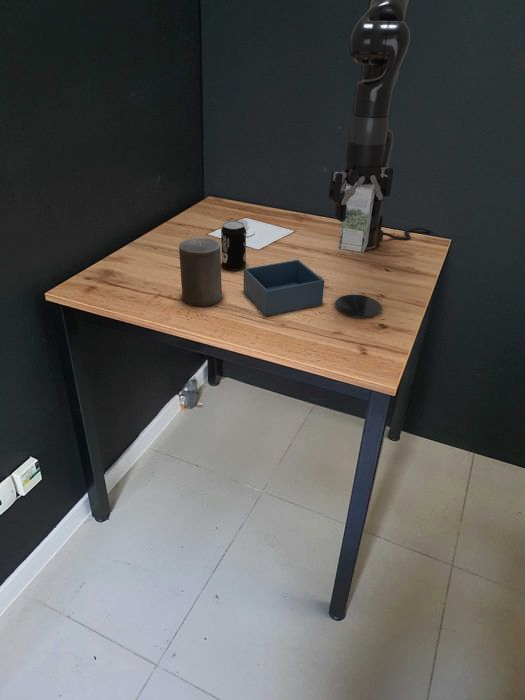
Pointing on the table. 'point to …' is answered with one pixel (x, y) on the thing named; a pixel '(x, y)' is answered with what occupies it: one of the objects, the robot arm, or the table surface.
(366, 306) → the coaster
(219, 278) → the pillar candle
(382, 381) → the table surface
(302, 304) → the bin
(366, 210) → the syrup box
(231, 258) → the beverage can
